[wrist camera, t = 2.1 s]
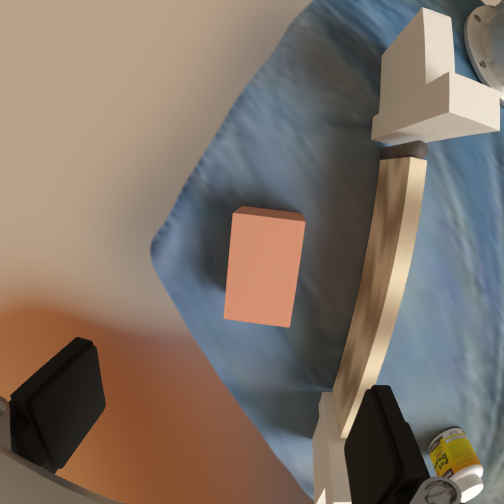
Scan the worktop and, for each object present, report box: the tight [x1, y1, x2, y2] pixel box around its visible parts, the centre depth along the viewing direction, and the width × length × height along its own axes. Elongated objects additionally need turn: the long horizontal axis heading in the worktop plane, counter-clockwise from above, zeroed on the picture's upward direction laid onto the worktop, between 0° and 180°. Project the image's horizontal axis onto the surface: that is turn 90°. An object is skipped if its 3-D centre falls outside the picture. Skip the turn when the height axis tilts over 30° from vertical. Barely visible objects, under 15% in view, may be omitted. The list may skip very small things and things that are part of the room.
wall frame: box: [312, 7, 500, 504], centre depth 20 cm, size 40×3×14 cm, turn 174°
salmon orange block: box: [224, 206, 306, 327], centre depth 25 cm, size 8×5×5 cm, turn 174°
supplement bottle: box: [428, 428, 483, 503], centre depth 26 cm, size 6×6×10 cm
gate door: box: [332, 140, 428, 438], centre depth 24 cm, size 24×1×7 cm, turn 174°
